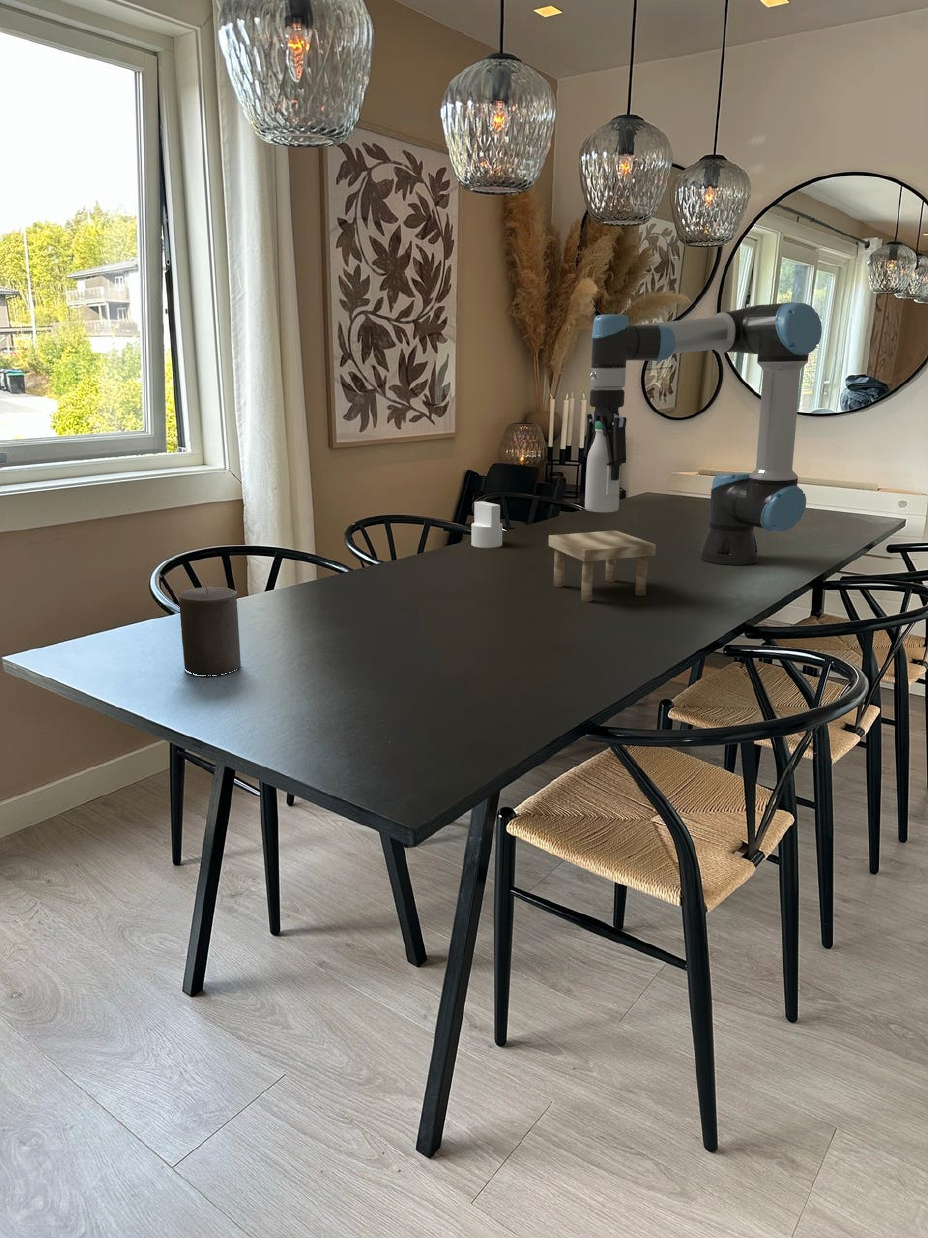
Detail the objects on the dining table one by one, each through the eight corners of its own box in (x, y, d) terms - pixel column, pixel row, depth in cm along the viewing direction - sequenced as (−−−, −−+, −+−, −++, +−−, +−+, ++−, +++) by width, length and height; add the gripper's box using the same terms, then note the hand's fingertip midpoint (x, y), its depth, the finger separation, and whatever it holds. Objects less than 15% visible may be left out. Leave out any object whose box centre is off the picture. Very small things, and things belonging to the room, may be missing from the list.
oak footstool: (613, 578, 220) (615, 530, 216) (652, 595, 204) (655, 544, 200) (547, 584, 214) (548, 535, 210) (582, 603, 198) (584, 550, 194)
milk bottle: (618, 513, 199) (622, 422, 193) (583, 512, 200) (587, 421, 195) (619, 508, 206) (623, 419, 200) (585, 506, 208) (589, 419, 202)
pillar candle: (188, 680, 151) (181, 595, 146) (181, 662, 159) (174, 581, 155) (246, 673, 154) (241, 590, 150) (236, 656, 163) (231, 577, 159)
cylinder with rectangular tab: (508, 545, 258) (509, 504, 254) (483, 549, 253) (483, 507, 250) (490, 540, 265) (490, 500, 262) (465, 543, 260) (465, 502, 257)
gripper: (570, 387, 203) (567, 486, 210) (616, 390, 185) (610, 499, 192) (599, 386, 206) (595, 485, 212) (647, 389, 188) (640, 497, 194)
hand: (602, 491), depth 202 cm, fingers closed on milk bottle, 8 cm apart
